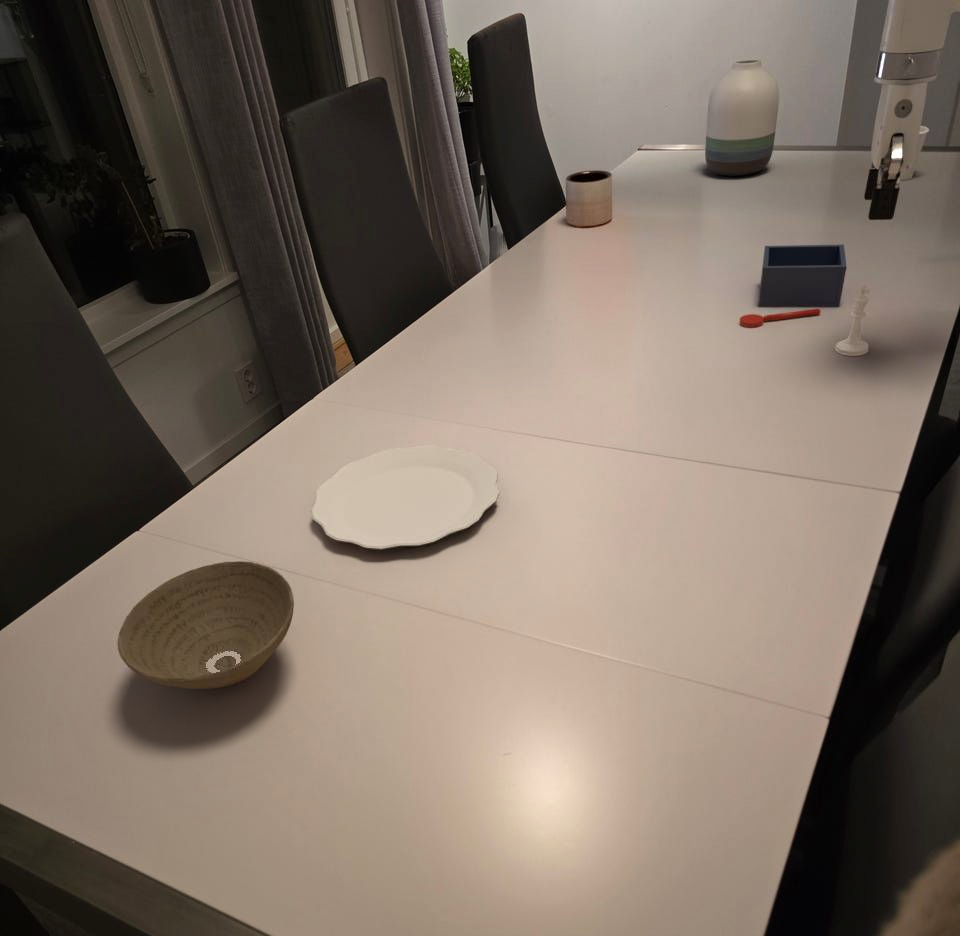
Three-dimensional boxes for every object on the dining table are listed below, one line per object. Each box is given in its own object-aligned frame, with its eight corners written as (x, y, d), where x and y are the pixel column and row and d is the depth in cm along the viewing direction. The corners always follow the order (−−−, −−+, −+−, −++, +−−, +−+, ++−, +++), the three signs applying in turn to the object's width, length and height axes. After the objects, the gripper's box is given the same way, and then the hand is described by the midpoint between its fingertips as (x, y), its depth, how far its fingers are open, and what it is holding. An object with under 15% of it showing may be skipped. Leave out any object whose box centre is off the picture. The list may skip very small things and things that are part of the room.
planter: (561, 228, 197) (560, 183, 190) (572, 214, 204) (571, 170, 198) (607, 227, 193) (607, 182, 187) (616, 213, 201) (616, 169, 194)
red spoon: (815, 310, 147) (816, 304, 146) (824, 318, 144) (825, 312, 143) (736, 320, 147) (737, 314, 146) (743, 328, 144) (744, 323, 143)
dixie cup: (886, 183, 197) (896, 135, 190) (875, 174, 203) (884, 127, 197) (923, 179, 196) (934, 131, 190) (911, 171, 203) (921, 123, 196)
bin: (836, 283, 155) (843, 244, 150) (839, 306, 147) (846, 266, 142) (760, 283, 158) (764, 245, 154) (758, 306, 150) (763, 267, 146)
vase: (758, 160, 224) (770, 52, 208) (780, 175, 211) (794, 61, 195) (696, 168, 224) (703, 61, 208) (713, 183, 211) (722, 70, 195)
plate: (438, 577, 99) (436, 564, 98) (277, 535, 110) (273, 523, 109) (531, 473, 115) (530, 461, 114) (382, 445, 125) (380, 433, 124)
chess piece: (835, 342, 136) (847, 279, 129) (868, 343, 135) (881, 280, 128) (834, 355, 133) (846, 291, 126) (867, 356, 131) (881, 292, 125)
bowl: (111, 725, 86) (78, 670, 81) (187, 611, 99) (164, 557, 94) (277, 737, 82) (254, 680, 77) (333, 617, 96) (317, 561, 90)
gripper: (947, 76, 101) (912, 227, 113) (931, 53, 114) (900, 191, 125) (881, 80, 103) (852, 227, 115) (872, 57, 116) (847, 192, 127)
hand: (877, 208), depth 120 cm, fingers open, 9 cm apart
